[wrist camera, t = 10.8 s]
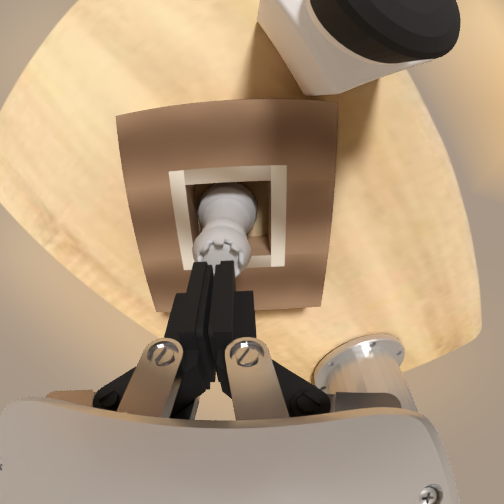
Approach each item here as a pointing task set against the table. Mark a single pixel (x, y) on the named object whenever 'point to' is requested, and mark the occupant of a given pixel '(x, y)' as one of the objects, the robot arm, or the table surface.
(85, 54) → the table surface
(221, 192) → the rook chess piece
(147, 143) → the board
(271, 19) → the medicine bottle
